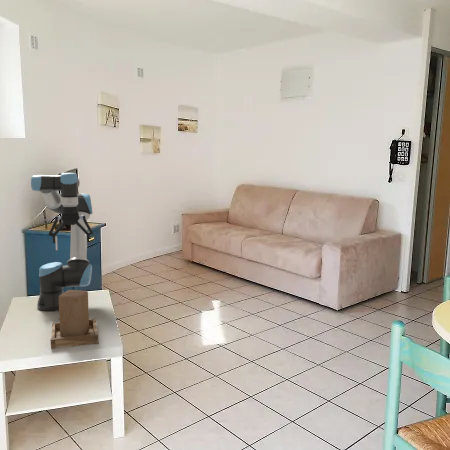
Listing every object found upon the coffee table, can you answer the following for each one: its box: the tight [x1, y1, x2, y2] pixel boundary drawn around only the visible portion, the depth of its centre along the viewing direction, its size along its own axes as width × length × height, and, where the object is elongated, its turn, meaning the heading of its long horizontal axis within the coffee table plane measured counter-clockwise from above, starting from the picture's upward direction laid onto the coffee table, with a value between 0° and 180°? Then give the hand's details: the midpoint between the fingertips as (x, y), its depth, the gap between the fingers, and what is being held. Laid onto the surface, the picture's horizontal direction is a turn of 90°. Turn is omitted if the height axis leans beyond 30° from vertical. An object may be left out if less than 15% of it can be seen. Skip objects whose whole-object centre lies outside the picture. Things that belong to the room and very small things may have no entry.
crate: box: [50, 318, 100, 349], centre depth 218 cm, size 20×20×4 cm
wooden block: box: [58, 289, 90, 337], centre depth 216 cm, size 10×10×20 cm
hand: (71, 249), depth 230 cm, fingers open, 13 cm apart
